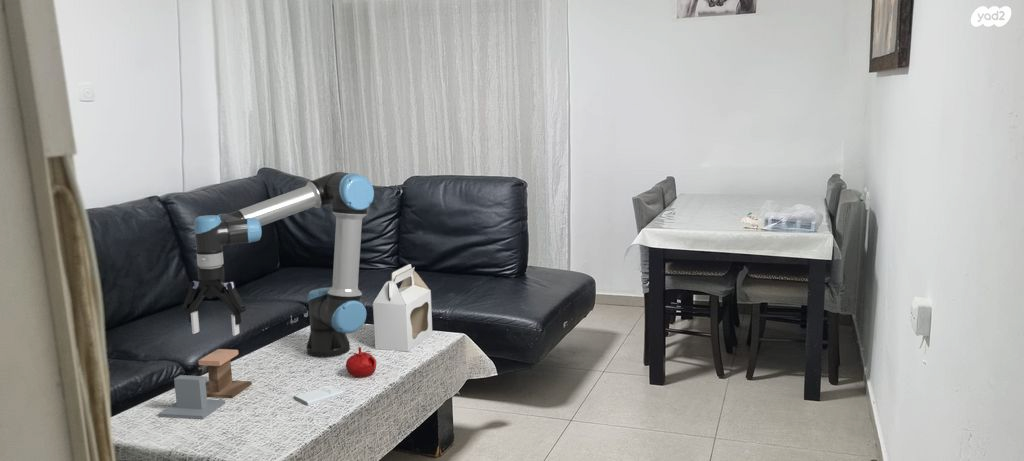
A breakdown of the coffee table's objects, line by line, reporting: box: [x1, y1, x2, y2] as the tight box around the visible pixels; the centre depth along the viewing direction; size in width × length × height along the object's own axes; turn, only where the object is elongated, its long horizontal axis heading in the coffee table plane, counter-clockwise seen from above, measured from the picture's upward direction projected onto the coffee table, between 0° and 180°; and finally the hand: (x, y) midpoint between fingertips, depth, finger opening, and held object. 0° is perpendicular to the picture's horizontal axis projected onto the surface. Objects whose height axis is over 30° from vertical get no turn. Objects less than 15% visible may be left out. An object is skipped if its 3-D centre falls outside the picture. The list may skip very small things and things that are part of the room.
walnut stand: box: [205, 359, 253, 399], centre depth 248 cm, size 14×12×10 cm
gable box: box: [372, 263, 433, 353], centre depth 292 cm, size 22×13×28 cm, turn 162°
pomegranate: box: [345, 346, 377, 379], centre depth 259 cm, size 10×10×9 cm
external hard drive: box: [293, 384, 345, 406], centre depth 242 cm, size 2×8×12 cm
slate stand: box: [157, 374, 226, 420], centre depth 232 cm, size 14×12×10 cm
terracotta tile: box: [198, 348, 239, 367], centre depth 247 cm, size 7×11×2 cm, turn 170°
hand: (215, 333), depth 246 cm, fingers open, 13 cm apart
